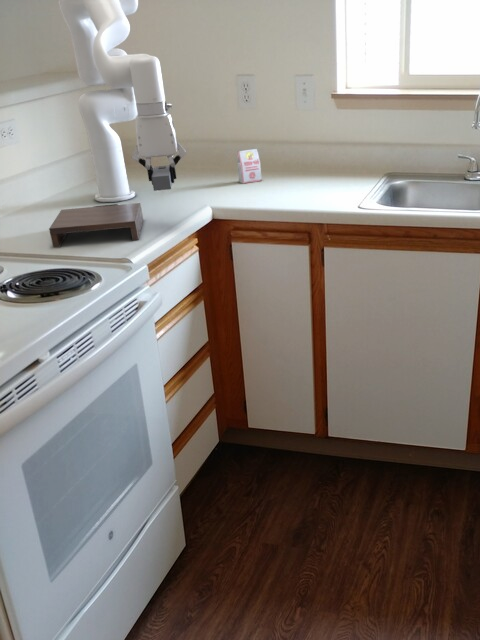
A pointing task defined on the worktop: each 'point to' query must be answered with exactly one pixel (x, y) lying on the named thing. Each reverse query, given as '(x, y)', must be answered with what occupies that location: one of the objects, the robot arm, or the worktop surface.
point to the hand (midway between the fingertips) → (163, 182)
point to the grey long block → (161, 178)
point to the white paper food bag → (249, 166)
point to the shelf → (97, 220)
